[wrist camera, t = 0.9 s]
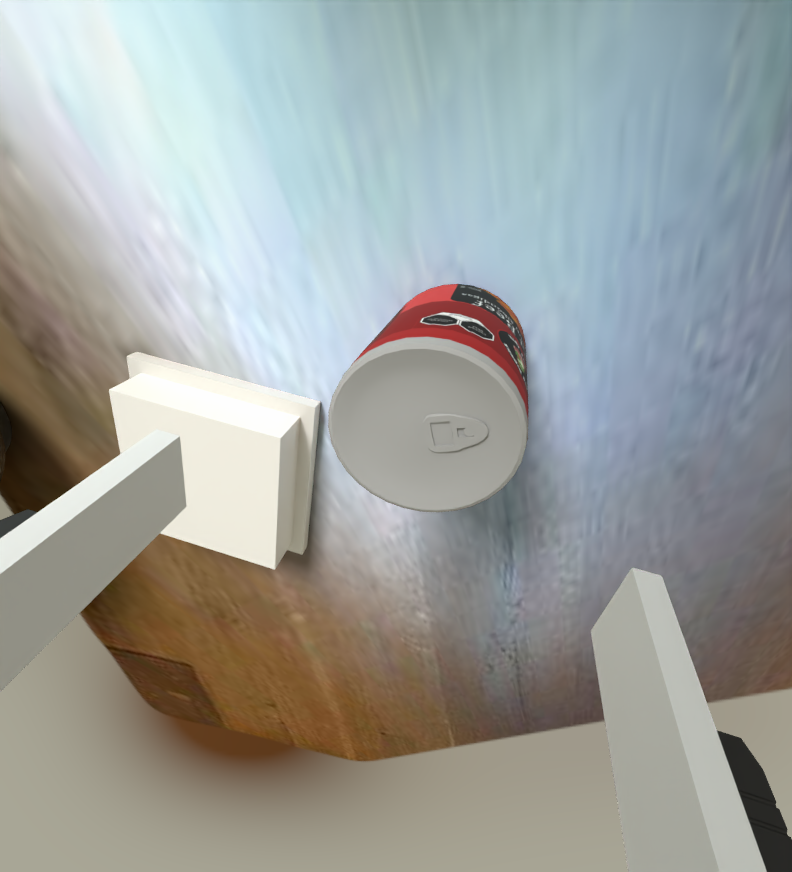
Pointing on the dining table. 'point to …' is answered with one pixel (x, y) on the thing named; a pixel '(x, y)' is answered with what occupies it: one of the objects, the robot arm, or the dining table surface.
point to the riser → (227, 455)
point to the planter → (4, 437)
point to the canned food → (436, 403)
